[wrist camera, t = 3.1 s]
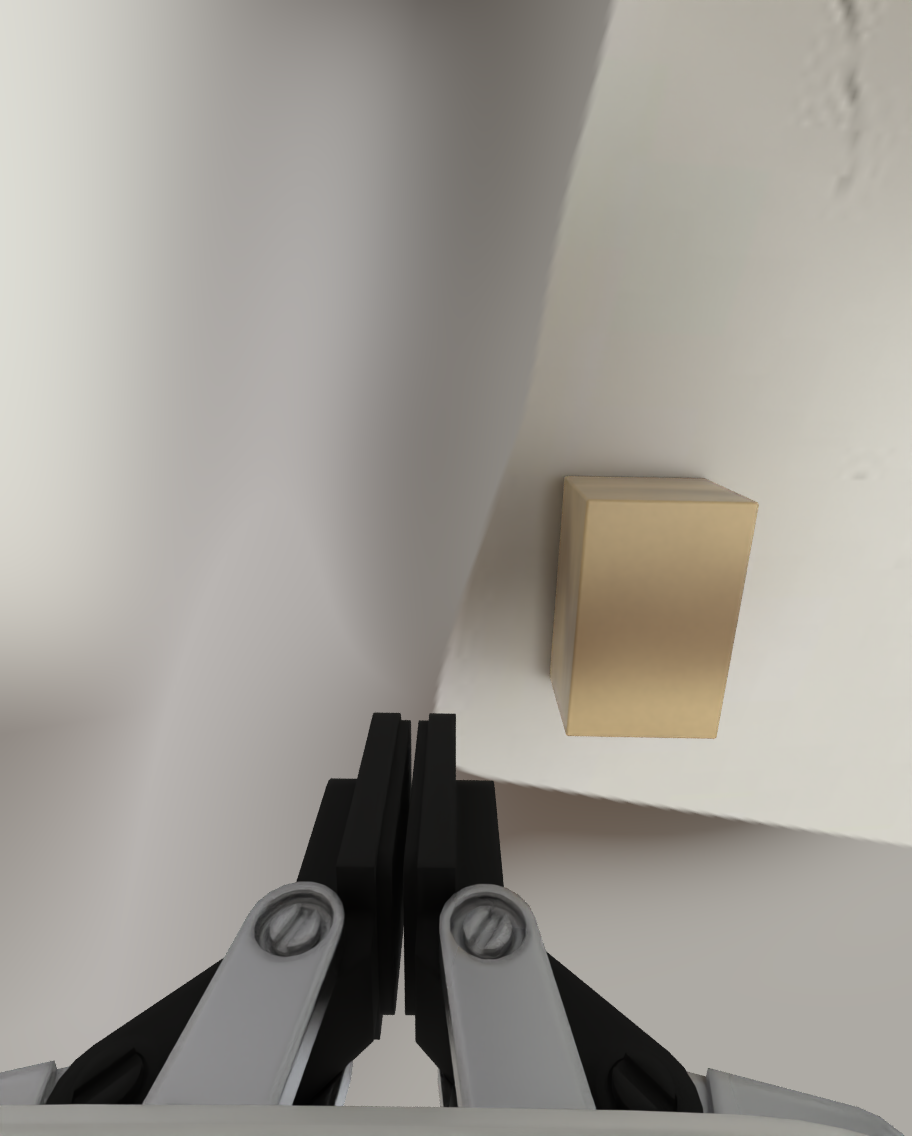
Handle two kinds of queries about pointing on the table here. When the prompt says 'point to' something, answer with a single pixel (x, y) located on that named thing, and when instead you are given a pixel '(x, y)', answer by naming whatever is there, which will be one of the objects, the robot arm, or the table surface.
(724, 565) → the box
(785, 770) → the table surface
